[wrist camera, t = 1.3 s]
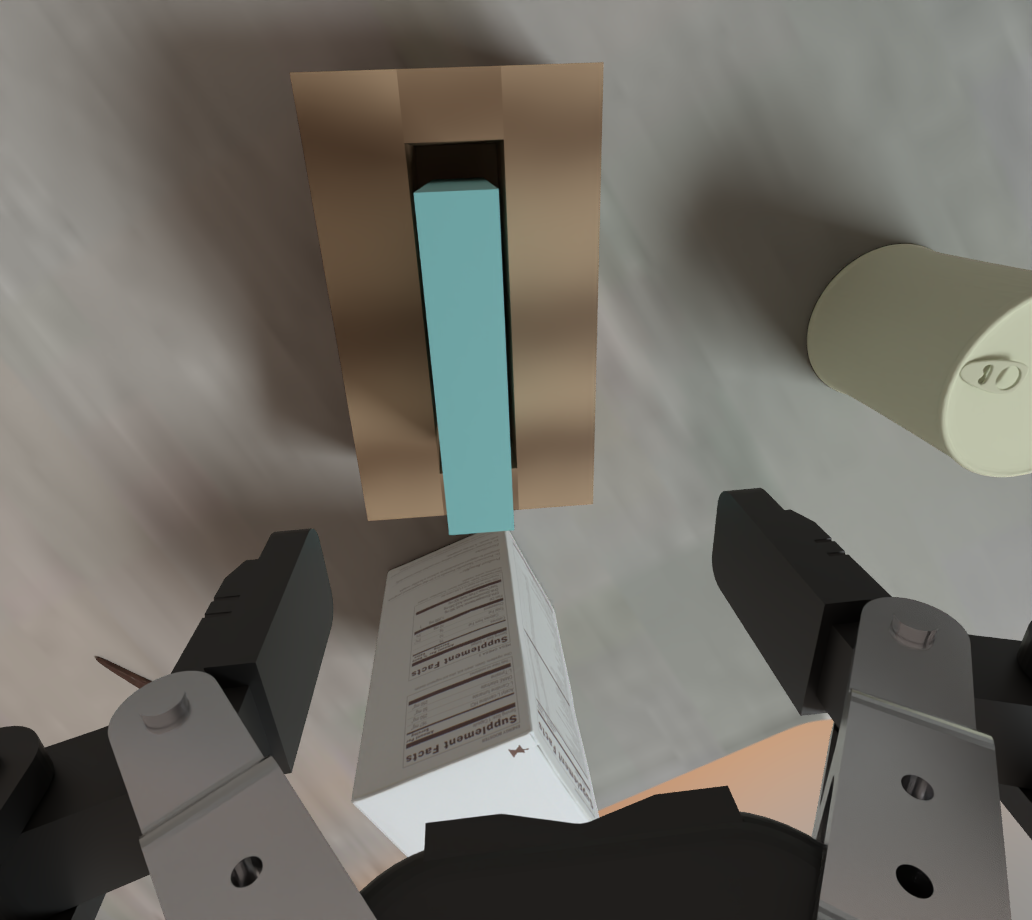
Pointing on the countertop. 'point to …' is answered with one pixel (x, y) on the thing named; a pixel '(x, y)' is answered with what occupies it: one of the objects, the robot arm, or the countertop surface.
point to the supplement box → (469, 698)
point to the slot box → (398, 275)
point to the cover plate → (467, 348)
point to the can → (934, 351)
